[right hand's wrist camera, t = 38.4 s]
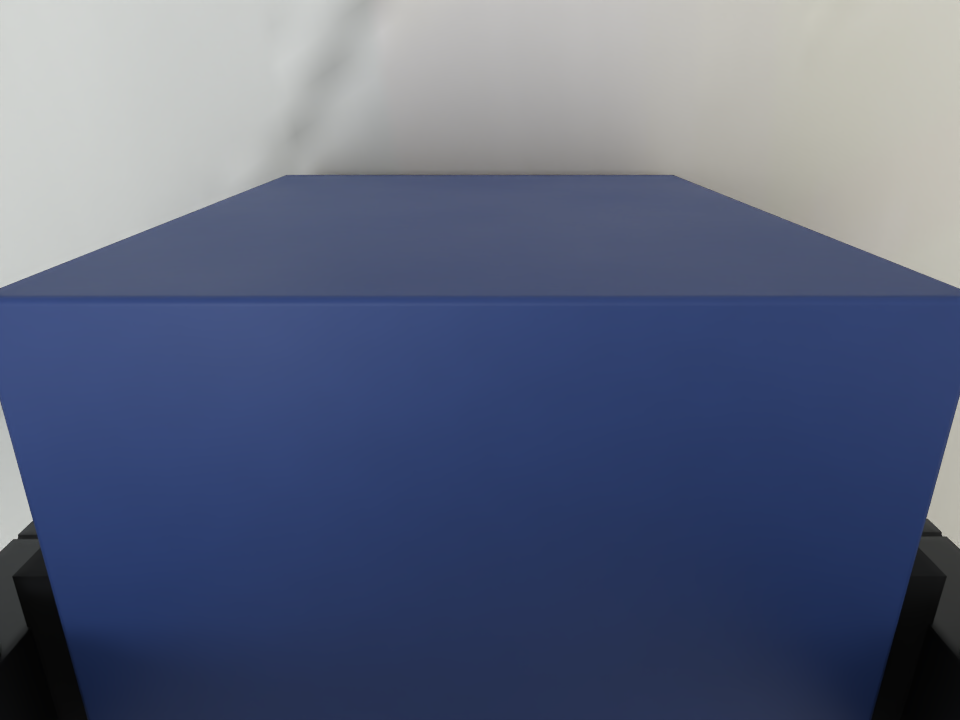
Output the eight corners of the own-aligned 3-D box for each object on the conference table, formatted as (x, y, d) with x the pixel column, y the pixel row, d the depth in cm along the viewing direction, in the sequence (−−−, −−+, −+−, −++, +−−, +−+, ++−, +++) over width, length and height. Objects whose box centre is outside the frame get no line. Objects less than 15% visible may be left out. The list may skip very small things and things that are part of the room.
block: (675, 174, 15) (991, 297, 6) (640, 523, 18) (807, 963, 9) (283, 174, 15) (-33, 297, 6) (318, 523, 18) (151, 963, 9)
